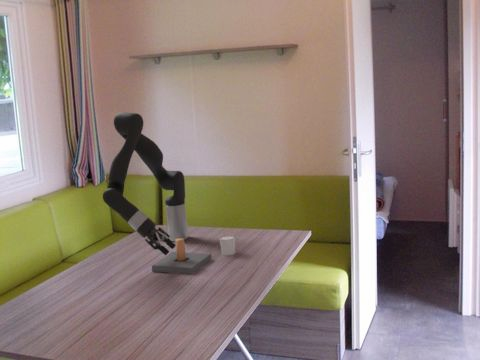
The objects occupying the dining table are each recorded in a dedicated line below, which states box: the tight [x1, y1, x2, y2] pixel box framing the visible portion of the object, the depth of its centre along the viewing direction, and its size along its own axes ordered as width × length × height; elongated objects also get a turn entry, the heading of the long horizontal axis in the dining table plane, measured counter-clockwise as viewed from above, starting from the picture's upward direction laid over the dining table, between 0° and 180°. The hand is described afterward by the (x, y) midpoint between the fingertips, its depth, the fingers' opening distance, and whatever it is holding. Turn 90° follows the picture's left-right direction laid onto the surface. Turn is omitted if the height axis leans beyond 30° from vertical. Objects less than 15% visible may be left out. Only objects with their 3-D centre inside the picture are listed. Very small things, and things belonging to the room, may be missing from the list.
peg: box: [174, 238, 187, 262], centre depth 230 cm, size 4×4×11 cm
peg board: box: [151, 251, 212, 275], centre depth 231 cm, size 18×18×2 cm
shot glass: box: [219, 235, 236, 257], centre depth 242 cm, size 7×7×7 cm
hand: (171, 250), depth 231 cm, fingers open, 8 cm apart
